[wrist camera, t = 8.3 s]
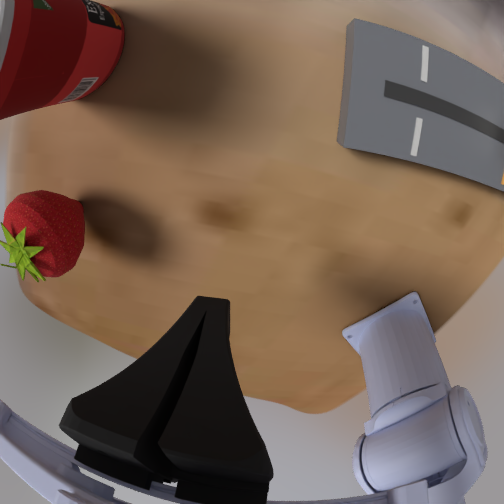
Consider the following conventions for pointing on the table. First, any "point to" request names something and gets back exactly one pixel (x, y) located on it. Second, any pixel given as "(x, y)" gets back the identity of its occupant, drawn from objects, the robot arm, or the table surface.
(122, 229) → the table surface
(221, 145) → the table surface
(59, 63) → the canned food
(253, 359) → the table surface
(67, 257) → the strawberry
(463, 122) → the fader board
